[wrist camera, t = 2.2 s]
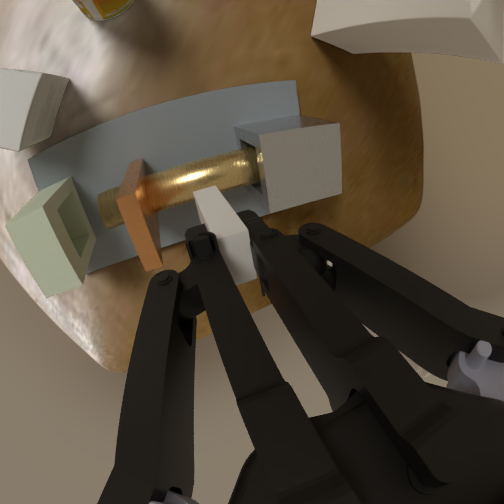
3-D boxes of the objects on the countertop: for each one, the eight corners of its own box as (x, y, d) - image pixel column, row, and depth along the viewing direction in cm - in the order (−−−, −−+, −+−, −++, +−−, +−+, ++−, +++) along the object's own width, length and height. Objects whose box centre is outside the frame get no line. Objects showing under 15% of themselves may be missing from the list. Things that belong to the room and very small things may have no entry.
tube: (100, 173, 21) (72, 217, 13) (301, 120, 25) (368, 138, 17) (118, 222, 24) (106, 285, 16) (306, 167, 28) (367, 202, 20)
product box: (6, 129, 16) (-33, 142, 10) (23, 70, 13) (-13, 66, 8) (51, 138, 19) (19, 153, 13) (71, 78, 16) (43, 71, 11)
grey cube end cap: (233, 126, 23) (259, 135, 18) (299, 115, 25) (339, 123, 19) (244, 187, 27) (270, 213, 22) (305, 172, 28) (341, 193, 23)
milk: (316, -4, 18) (499, -41, 1) (359, 16, 21) (531, 14, 3) (309, 37, 21) (514, 23, 4) (353, 55, 24) (538, 75, 6)
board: (32, 156, 18) (27, 159, 18) (289, 80, 24) (295, 80, 23) (81, 270, 26) (80, 276, 26) (302, 199, 32) (307, 203, 31)
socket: (38, 191, 20) (5, 226, 13) (70, 175, 20) (42, 206, 14) (65, 250, 24) (46, 298, 17) (96, 238, 24) (82, 285, 18)
